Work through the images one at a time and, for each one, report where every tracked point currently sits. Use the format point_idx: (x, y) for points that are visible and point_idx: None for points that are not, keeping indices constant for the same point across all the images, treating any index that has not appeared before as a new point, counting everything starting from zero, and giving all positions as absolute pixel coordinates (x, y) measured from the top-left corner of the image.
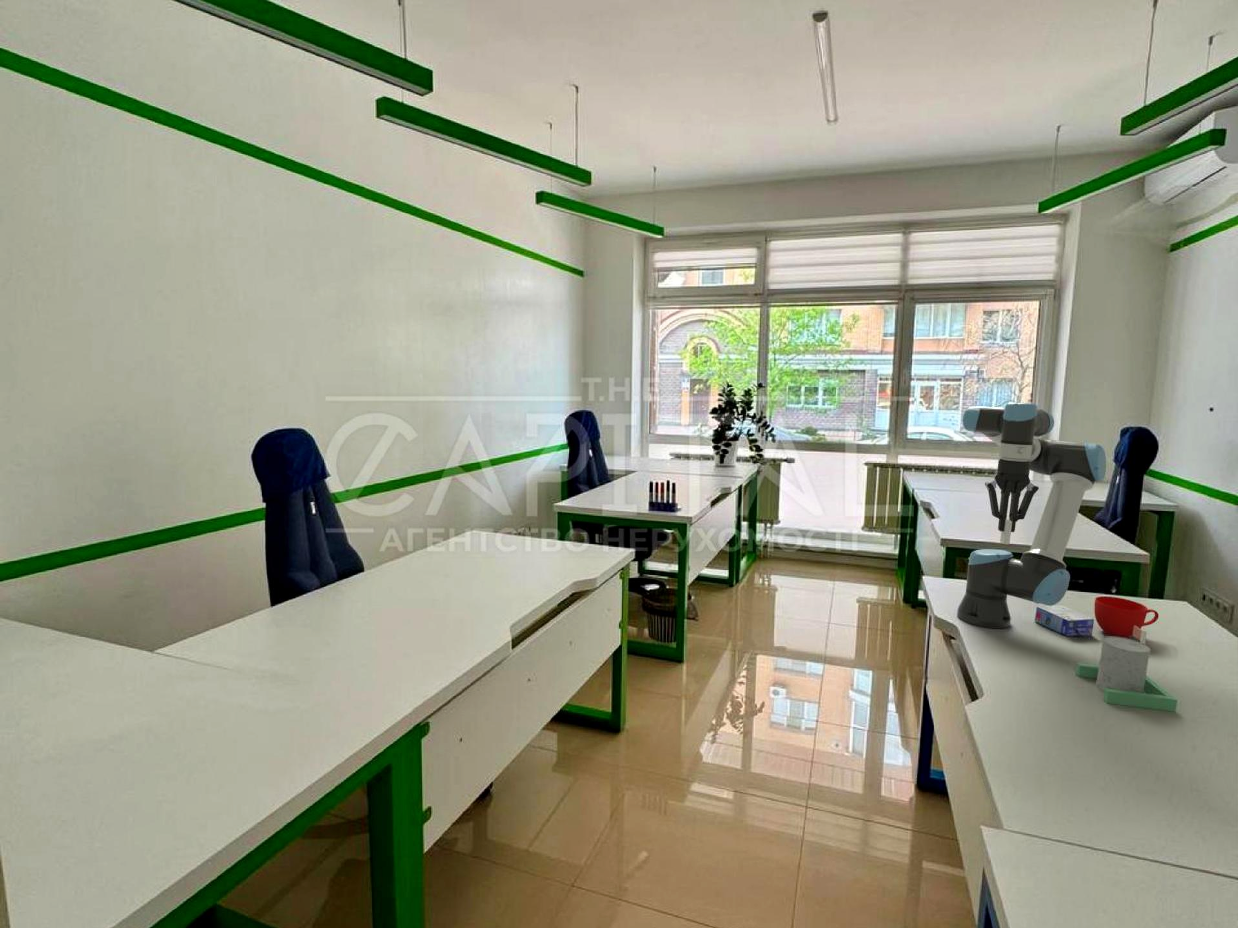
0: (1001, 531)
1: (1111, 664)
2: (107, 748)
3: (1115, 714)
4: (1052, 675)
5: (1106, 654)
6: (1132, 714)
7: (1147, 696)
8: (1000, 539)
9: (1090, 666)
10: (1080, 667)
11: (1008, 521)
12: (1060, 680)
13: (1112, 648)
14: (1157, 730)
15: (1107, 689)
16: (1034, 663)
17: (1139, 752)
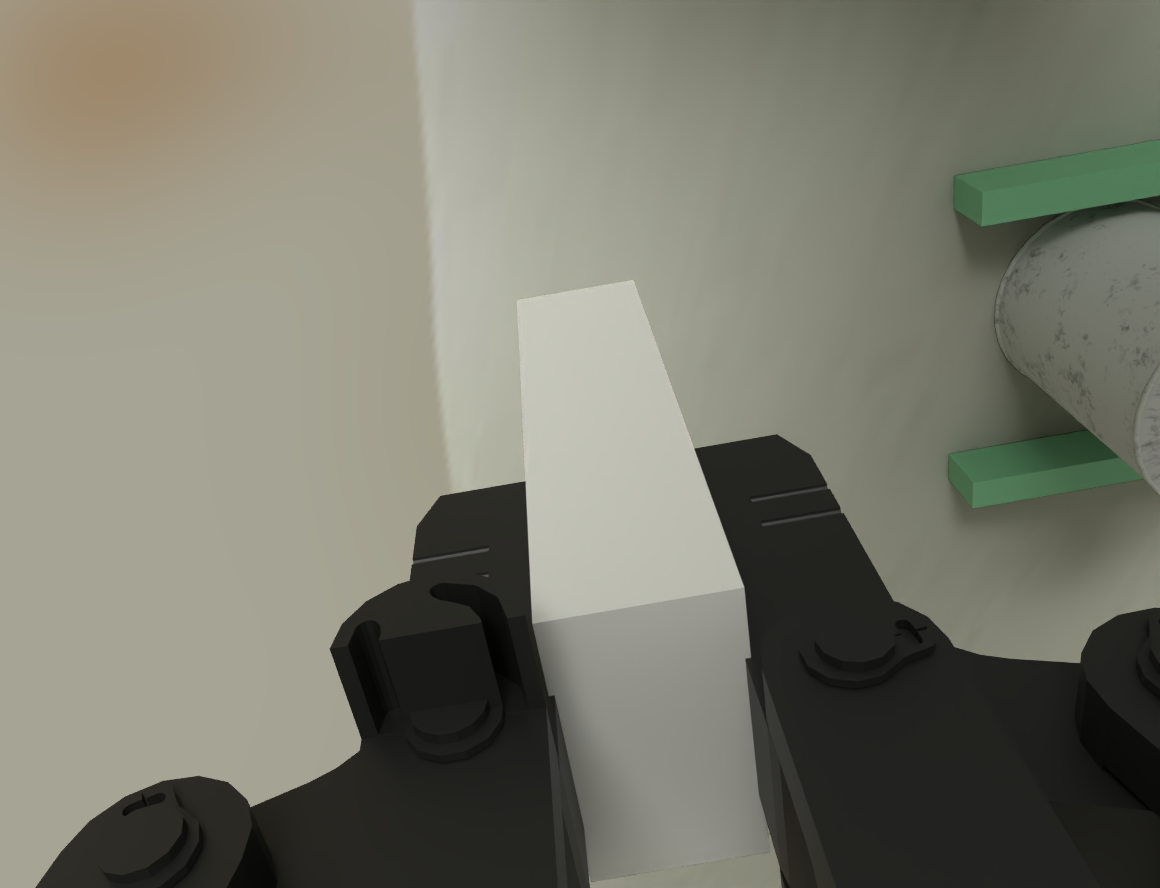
0: (525, 407)
1: (1088, 427)
2: None
3: (933, 569)
4: (809, 266)
5: (1099, 420)
6: (1007, 539)
7: (1136, 478)
8: (518, 326)
9: (1040, 210)
10: (979, 223)
11: (659, 858)
12: (829, 316)
13: (1139, 470)
14: (1032, 628)
15: (979, 490)
16: (760, 122)
17: None
